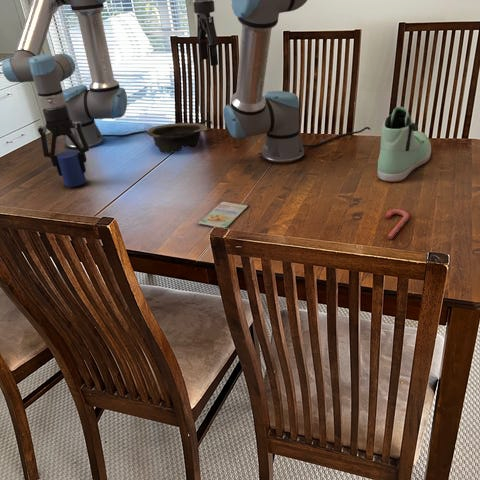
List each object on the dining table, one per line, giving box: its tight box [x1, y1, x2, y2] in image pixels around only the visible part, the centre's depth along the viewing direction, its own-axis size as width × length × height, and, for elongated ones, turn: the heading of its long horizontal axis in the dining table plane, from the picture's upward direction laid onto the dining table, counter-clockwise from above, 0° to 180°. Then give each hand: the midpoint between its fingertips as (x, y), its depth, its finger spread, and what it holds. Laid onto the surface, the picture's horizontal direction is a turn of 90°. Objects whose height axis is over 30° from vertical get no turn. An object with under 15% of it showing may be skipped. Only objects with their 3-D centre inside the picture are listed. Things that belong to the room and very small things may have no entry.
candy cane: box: [385, 208, 410, 240], centre depth 129 cm, size 6×15×2 cm, turn 145°
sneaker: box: [376, 106, 432, 183], centre depth 158 cm, size 14×35×20 cm, turn 152°
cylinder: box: [56, 149, 87, 188], centre depth 164 cm, size 7×7×11 cm
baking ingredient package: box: [198, 201, 249, 228], centre depth 141 cm, size 9×1×15 cm
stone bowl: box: [143, 122, 208, 154], centre depth 192 cm, size 25×25×9 cm
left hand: (72, 172), depth 165 cm, fingers closed on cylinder, 7 cm apart
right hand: (209, 62), depth 184 cm, fingers open, 13 cm apart
